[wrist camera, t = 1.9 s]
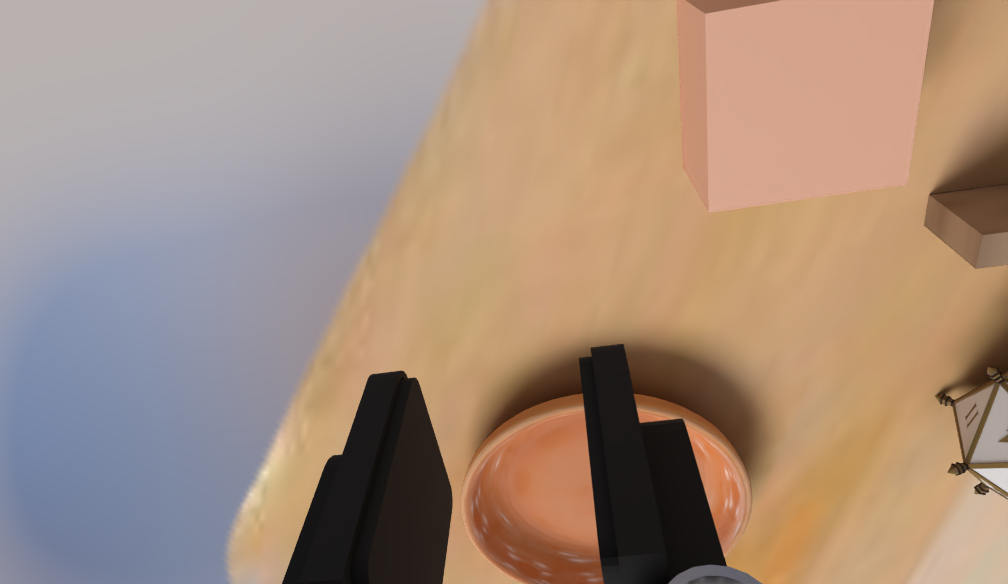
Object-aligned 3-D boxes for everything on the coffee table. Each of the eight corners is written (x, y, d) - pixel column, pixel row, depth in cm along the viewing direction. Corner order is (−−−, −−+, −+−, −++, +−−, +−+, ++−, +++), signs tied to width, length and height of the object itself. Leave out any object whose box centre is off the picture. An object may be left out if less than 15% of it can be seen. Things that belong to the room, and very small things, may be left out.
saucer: (494, 572, 44) (492, 614, 41) (435, 388, 36) (427, 426, 33) (740, 548, 42) (754, 591, 39) (735, 347, 34) (752, 384, 31)
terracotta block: (866, -41, 24) (938, -28, 20) (849, 140, 28) (907, 184, 24) (675, -7, 25) (705, 13, 21) (682, 165, 29) (708, 212, 24)
